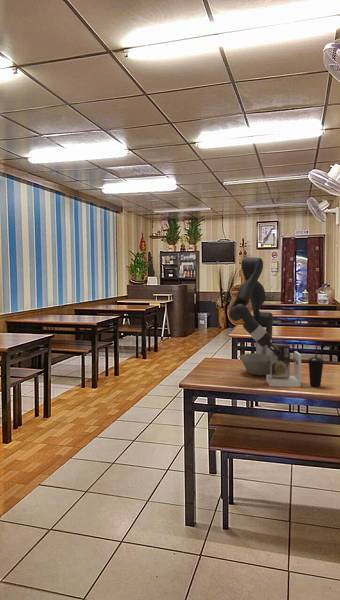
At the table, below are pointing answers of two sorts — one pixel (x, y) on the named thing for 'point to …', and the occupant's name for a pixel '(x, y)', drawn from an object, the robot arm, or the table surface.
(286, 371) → the coffee box
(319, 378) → the drinking cup
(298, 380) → the white l-shaped bookend
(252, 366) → the ceramic bowl
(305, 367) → the table surface
